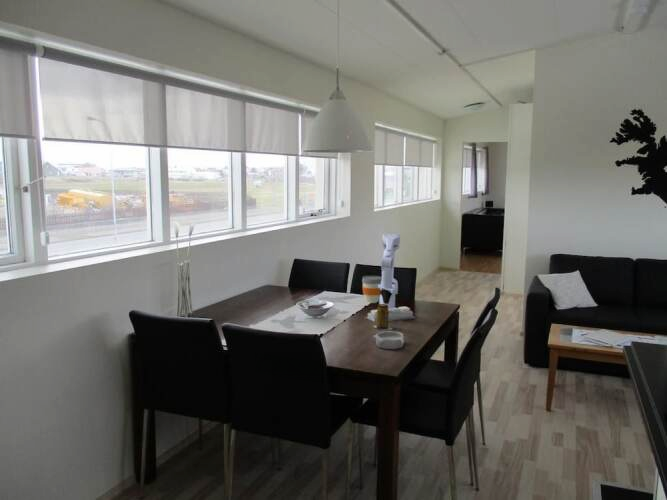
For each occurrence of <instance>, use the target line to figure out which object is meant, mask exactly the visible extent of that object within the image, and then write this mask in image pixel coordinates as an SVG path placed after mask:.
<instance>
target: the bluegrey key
mask: <svg viewBox="0 0 667 500" xmlns="http://www.w3.org/2000/svg"><path fill="white" fill-rule="evenodd" d="M390 310H391V313H393V314H394V313H400V312H401V309H399V307H395V308H390Z"/></svg>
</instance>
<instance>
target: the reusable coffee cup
mask: <svg viewBox="0 0 667 500" xmlns="http://www.w3.org/2000/svg"><path fill="white" fill-rule="evenodd" d="M381 281H382V276H379V275H364V276H362V279H361V283H362V286H361V287H362V294H363V299H364V302H365V301H366V302H365V303H367V302H371V303H370V304H377V302H378V303H380V295H381V293H380V288H378V285H379V284H381Z"/></svg>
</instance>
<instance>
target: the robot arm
mask: <svg viewBox="0 0 667 500" xmlns="http://www.w3.org/2000/svg"><path fill="white" fill-rule="evenodd" d="M400 242H401V235H400V234H392V233H390V234H389V233H388V234H387V233H383V234H382V247H383V249H384V251H383V255H382V257H381V261H380V267H381V277H382V281H381V284H379V285H378V288H380V293H381V294H380V298H379V302H378V305H379V304H387V305H388V309H389V310H390V308H396V295H397V294H398V293H399V292H398V291H399V283H398V280H397V279H396V278H394V271H395V255H396V251H397V250H399V249H400V244H401V243H400Z"/></svg>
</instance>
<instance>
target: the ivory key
mask: <svg viewBox="0 0 667 500" xmlns="http://www.w3.org/2000/svg"><path fill="white" fill-rule="evenodd" d="M398 308H399V309H401V312H409V311H411V308H410V307H408V306H399V307H398Z"/></svg>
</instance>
